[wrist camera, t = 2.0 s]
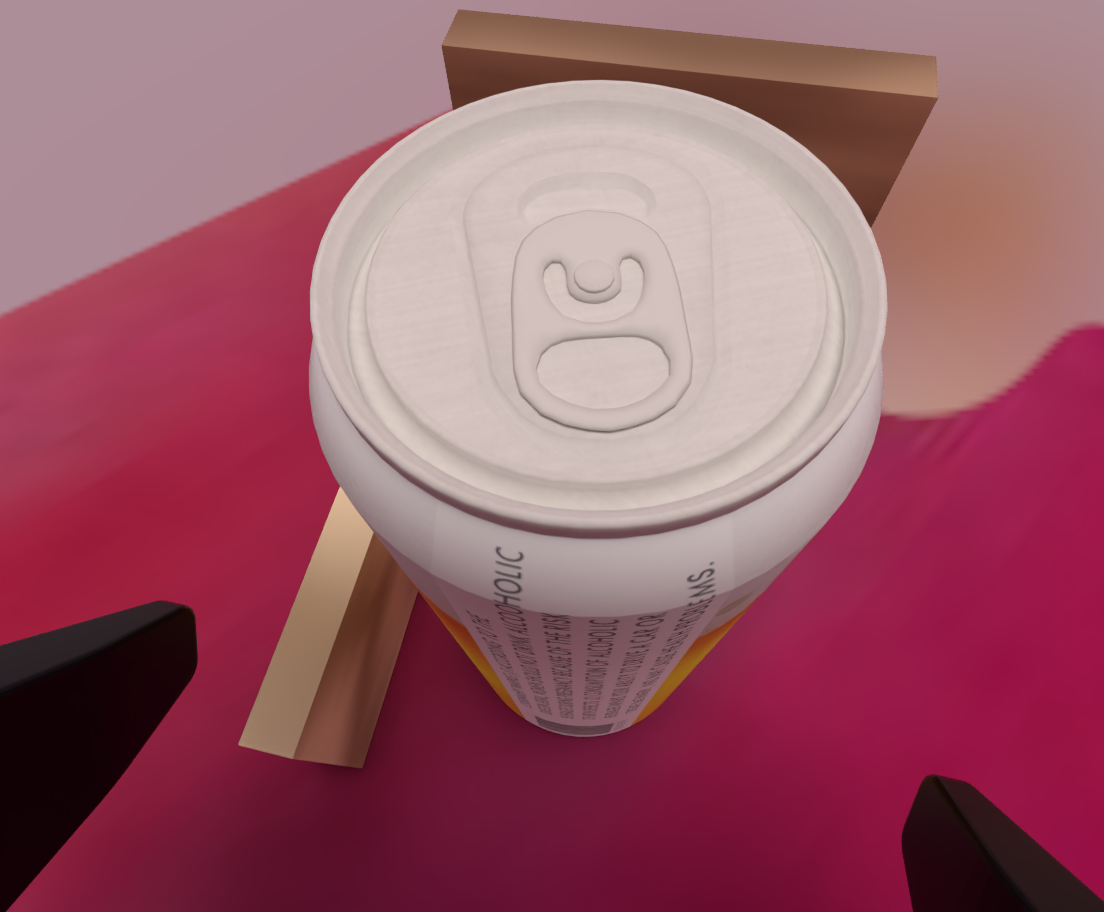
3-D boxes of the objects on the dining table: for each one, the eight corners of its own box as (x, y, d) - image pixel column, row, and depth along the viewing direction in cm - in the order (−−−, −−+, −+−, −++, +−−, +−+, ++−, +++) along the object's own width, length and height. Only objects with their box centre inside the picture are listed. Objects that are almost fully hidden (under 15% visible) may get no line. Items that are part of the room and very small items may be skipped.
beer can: (672, 522, 21) (839, 38, 8) (702, 732, 18) (1048, 551, 5) (477, 534, 21) (304, 73, 8) (478, 745, 18) (211, 604, 5)
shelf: (788, 875, 17) (984, 947, 9) (320, 758, 18) (119, 726, 10) (819, 288, 25) (935, 46, 17) (496, 242, 26) (462, 1, 18)
